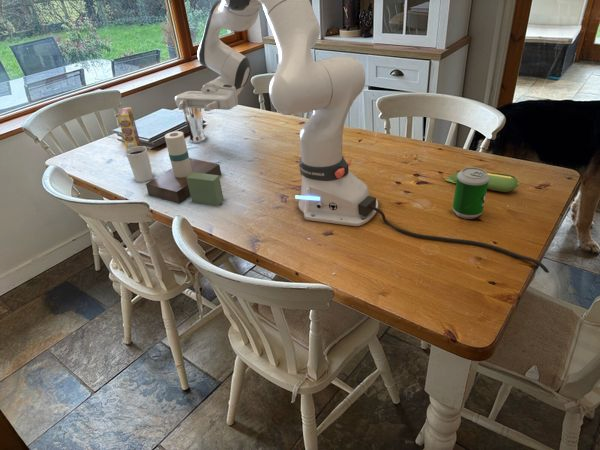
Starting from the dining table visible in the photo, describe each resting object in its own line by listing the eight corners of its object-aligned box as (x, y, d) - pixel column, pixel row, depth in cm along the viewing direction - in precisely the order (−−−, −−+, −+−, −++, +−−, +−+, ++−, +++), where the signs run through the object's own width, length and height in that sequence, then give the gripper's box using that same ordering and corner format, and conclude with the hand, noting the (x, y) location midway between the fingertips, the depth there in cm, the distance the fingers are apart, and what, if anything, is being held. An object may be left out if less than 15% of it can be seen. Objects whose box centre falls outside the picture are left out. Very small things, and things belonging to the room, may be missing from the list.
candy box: (140, 153, 163) (128, 114, 155) (128, 155, 163) (116, 115, 154) (141, 144, 170) (131, 106, 162) (130, 146, 170) (119, 108, 161)
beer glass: (203, 143, 167) (195, 105, 159) (186, 143, 169) (177, 105, 161) (209, 136, 173) (202, 99, 165) (193, 136, 174) (185, 99, 166)
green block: (197, 196, 132) (192, 172, 128) (223, 200, 129) (219, 175, 125) (191, 202, 129) (185, 177, 125) (218, 206, 127) (213, 180, 122)
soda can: (478, 223, 110) (486, 181, 104) (448, 216, 114) (454, 175, 107) (484, 209, 116) (493, 168, 109) (456, 203, 119) (462, 163, 113)
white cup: (144, 172, 149) (136, 145, 144) (158, 175, 146) (151, 148, 141) (129, 180, 145) (120, 152, 139) (143, 184, 142) (135, 156, 136)
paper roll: (177, 180, 139) (187, 142, 142) (192, 182, 138) (202, 143, 140) (152, 166, 127) (163, 125, 129) (169, 168, 125) (180, 126, 127)
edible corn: (515, 196, 120) (519, 182, 117) (442, 184, 128) (443, 170, 126) (517, 188, 124) (521, 174, 121) (446, 176, 132) (447, 163, 130)
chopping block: (221, 175, 143) (219, 164, 141) (179, 203, 129) (176, 191, 127) (191, 168, 149) (189, 157, 147) (148, 195, 135) (145, 183, 133)
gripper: (186, 84, 149) (163, 97, 138) (239, 86, 143) (219, 99, 132) (190, 102, 153) (167, 116, 142) (242, 105, 146) (222, 119, 135)
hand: (193, 108), depth 137 cm, fingers open, 8 cm apart
